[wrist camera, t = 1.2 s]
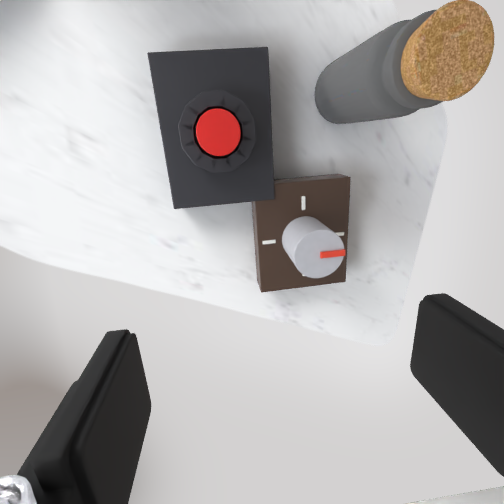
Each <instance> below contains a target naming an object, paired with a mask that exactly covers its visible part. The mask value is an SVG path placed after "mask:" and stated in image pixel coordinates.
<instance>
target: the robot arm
mask: <svg viewBox="0 0 504 504" xmlns="http://www.w3.org/2000/svg"><path fill="white" fill-rule="evenodd" d="M410 365H411V366H410V367H411V371H412V373H413V375H414V377H415V378H416V379H417V380H418V381H419V383H420V384H421V385H422V386H423V387H424V388H425V389H426V391H427V392H428V393H429V394H430V395H431V396H432V397H433V398H434V399H435V401H436V402H437V403H438V404H439V405H440V406H441V408H442V409H443V410H444V411H445V412H446V413H447V414H448V415H449V417H450V418H451V419H452V420H453V421H454V422H455V423H456V425H457V426H458V427H459V428H460V429H461V430H462V432H463V433H464V434H465V435H466V436H467V437H468V438H469V440H471V442H472V443H473V444H474V445H475V446H476V448H477V449H478V450H479V451H480V452H481V453H482V454H483V456H484V457H485V458H486V459H487V460H488V461H489V462H490V463H491V465H492V466H493V467H494V468H495V469H496V470H497V471H498V472H499V473H500V474H501V475H502V476H504V330H503V329H502V328H500V327H499V326H497V325H495V324H494V323H492V322H491V321H489V320H487V319H486V318H484V317H483V316H481V315H479V314H478V313H476V312H475V311H473V310H471V309H470V308H468V307H467V306H465V305H463V304H462V303H460V302H459V301H457V300H455V299H454V298H452V297H451V296H449V295H447V294H433V295H427V296H425V297H424V299H423V300H422V301H421V302H420V304H419V310H418V316H417V323H416V330H415V337H414V344H413V350H412V357H411V364H410ZM150 412H151V400H150V395H149V390H148V386H147V382H146V377H145V373H144V368H143V364H142V359H141V355H140V350H139V346H138V342H137V338H136V335H135V334H134V333H132V334H130V332H129V330H117V331H109V332H107V333H106V334H105V336H104V338H103V340H102V341H101V343H100V345H99V346H98V348H97V349H96V351H95V353H94V354H93V356H92V358H91V360H90V361H89V363H88V364H87V366H86V368H85V369H84V371H83V373H82V374H81V376H80V378H79V379H78V380H77V381H75V382H74V383H73V384H72V386H71V387H70V389H69V390H68V392H67V393H66V395H65V397H64V398H63V400H62V402H61V403H60V405H59V407H58V409H57V410H56V411H55V413H54V415H53V416H52V418H51V420H50V422H49V423H48V424H47V426H46V428H45V429H44V431H43V433H42V434H41V436H40V438H39V439H38V441H37V443H36V444H35V446H34V447H33V449H32V451H31V452H30V454H29V456H28V457H27V459H26V460H25V462H24V464H23V465H22V467H21V469H20V470H19V472H18V474H17V475H12V476H4V477H1V478H0V504H128V501H129V497H130V493H131V489H132V485H133V481H134V477H135V473H136V469H137V465H138V461H139V457H140V453H141V449H142V445H143V441H144V437H145V433H146V429H147V425H148V421H149V417H150ZM407 504H504V486H503V487H498V488H492V489H486V490H480V491H474V492H469V493H463V494H457V495H451V496H446V497H440V498H435V499H429V500H423V501H418V502H413V503H407Z"/></svg>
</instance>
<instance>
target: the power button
mask: <svg viewBox="0 0 504 504" xmlns="http://www.w3.org/2000/svg"><path fill="white" fill-rule="evenodd" d="M196 135H197V139H198V142H199V144H200V146H201V147H202V148H203V149H204V150H205V151H206V152H207V153H209V154H211V155H214V156H224V155H227V154H229V153H231V152H232V151H233V150H234V149H235V148H236V147H237V145H238V143H239V141H240V136H241V131H240V126H239V123H238V121H237V119H236V118H235V117H234V115H233V114H231V113H230V112H229V111H227V110H224V109H220V108H215V109H211V110H208V111H207V112H205V113H204V114H203V115H202V116H201V117H200V119H199V121H198V123H197V127H196Z"/></svg>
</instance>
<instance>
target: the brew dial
mask: <svg viewBox="0 0 504 504" xmlns="http://www.w3.org/2000/svg"><path fill="white" fill-rule="evenodd" d="M282 244H283V247H284V249H285V251H286V253H287V254H288V256H289V257H290V259H291V260H292V262H293V263H294V265H295V266H296V267H297V269H298V270H299V271H300V272H301V273H302V274H303V275H305V276H307V277H310V278H322V277H325V276H328V275H330V274H331V273H333V272H334V271H335V270H336V269H337V268H338V267H339V266H340V264H341V262H342V260H343V257H344V256H345V249H344V244H343V242H342V240H341V238H340V237H339V236H338V235H337V234H336V233H334V232H333V231H332V230H330V229H329V228H328V227H326V226H325V225H324V224H322V223H321V222H320V221H318V220H317V219H315V218H313V217H308V216H303V217H299V218H296V219H294V220H293V221H291V222H290V223H289V224H288V225H287V227H286V228H285V230H284V232H283V235H282Z"/></svg>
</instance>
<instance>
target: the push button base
mask: <svg viewBox="0 0 504 504" xmlns="http://www.w3.org/2000/svg"><path fill="white" fill-rule="evenodd" d="M148 58H149V64H150V70H151V76H152V82H153V88H154V94H155V99H156V105H157V111H158V117H159V123H160V129H161V135H162V141H163V147H164V152H165V158H166V164H167V170H168V176H169V182H170V188H171V194H172V199H173V205H174V209H180V208H190V207H200V206H210V205H221V204H231V203H241V202H251V201H262V200H272V199H275V195H274V172H273V149H272V126H271V103H270V80H269V57H268V47H256V48H235V49H214V50H193V51H172V52H151V53H148ZM215 108H220V109H224V110H227V111H229V112H230V113H231V114H233V115H234V117H235V118H236V119H237V121H238V123H239V126H240V131H241V136H240V141H239V143H238V145H237V147H236V148H235V149H234V150H233V151H232V152H231V153H229V154H227V155H224V156H214V155H211V154H209V153H207V152H206V151H205V150H204V149H203V148H202V147H201V146H200V144H199V142H198V139H197V135H196V127H197V123H198V121H199V119H200V117H201V116H202V115H203V114H204V113H205V112H207V111H208V110H211V109H215Z"/></svg>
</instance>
